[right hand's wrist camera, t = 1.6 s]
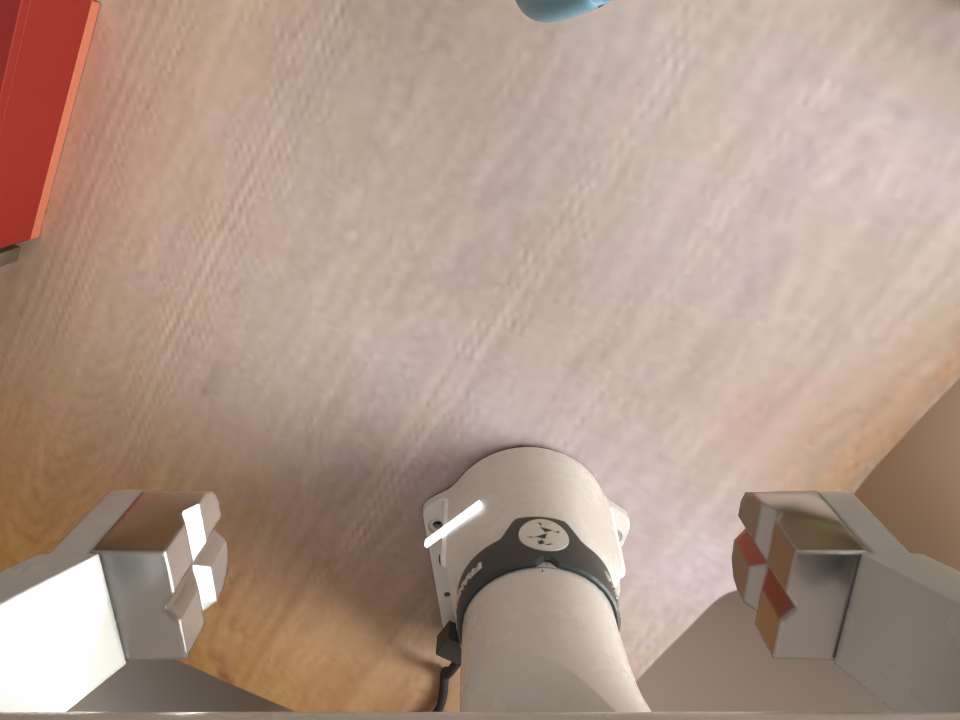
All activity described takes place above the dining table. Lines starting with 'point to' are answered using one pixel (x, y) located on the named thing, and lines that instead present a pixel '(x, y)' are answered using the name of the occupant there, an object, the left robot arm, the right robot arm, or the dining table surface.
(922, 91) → the dining table surface
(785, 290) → the dining table surface
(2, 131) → the red drawer housing
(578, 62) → the dining table surface
